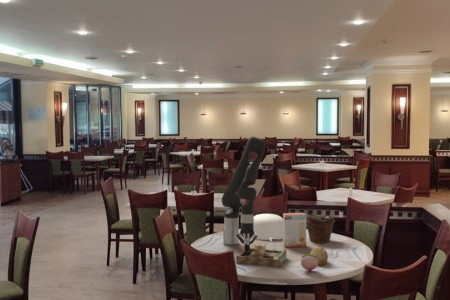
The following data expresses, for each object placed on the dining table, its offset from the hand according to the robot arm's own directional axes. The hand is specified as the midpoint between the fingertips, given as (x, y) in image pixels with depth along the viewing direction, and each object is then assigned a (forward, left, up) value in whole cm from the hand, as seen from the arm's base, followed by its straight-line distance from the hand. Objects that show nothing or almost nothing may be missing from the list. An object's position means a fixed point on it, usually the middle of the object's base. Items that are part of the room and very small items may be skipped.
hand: (247, 250), depth 290 cm
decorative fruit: (+38, -14, -4) cm, 41 cm away
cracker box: (+22, +34, -4) cm, 40 cm away
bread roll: (+41, +4, -4) cm, 41 cm away
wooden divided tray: (+10, -3, -4) cm, 11 cm away
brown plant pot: (+36, +52, -4) cm, 63 cm away
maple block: (+8, 0, -1) cm, 8 cm away
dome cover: (-1, +58, -4) cm, 58 cm away
